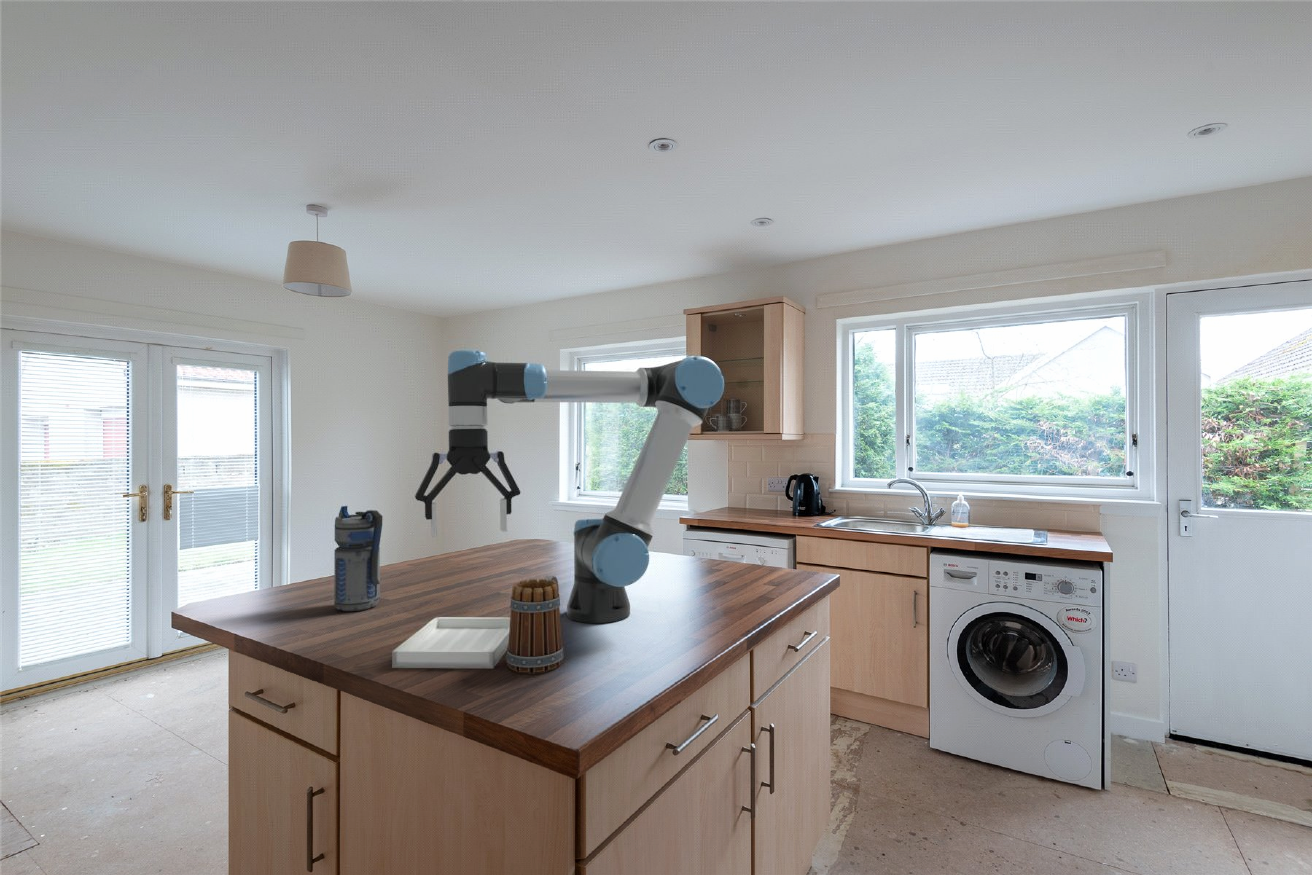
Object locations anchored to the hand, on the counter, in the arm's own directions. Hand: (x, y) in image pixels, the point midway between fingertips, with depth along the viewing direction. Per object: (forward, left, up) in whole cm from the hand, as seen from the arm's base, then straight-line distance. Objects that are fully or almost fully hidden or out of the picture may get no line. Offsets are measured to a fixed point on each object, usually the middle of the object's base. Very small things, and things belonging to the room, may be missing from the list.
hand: (469, 533), depth 124 cm
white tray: (+1, +1, -23) cm, 23 cm away
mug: (-16, +7, -23) cm, 29 cm away
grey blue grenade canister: (+36, -28, -23) cm, 52 cm away
